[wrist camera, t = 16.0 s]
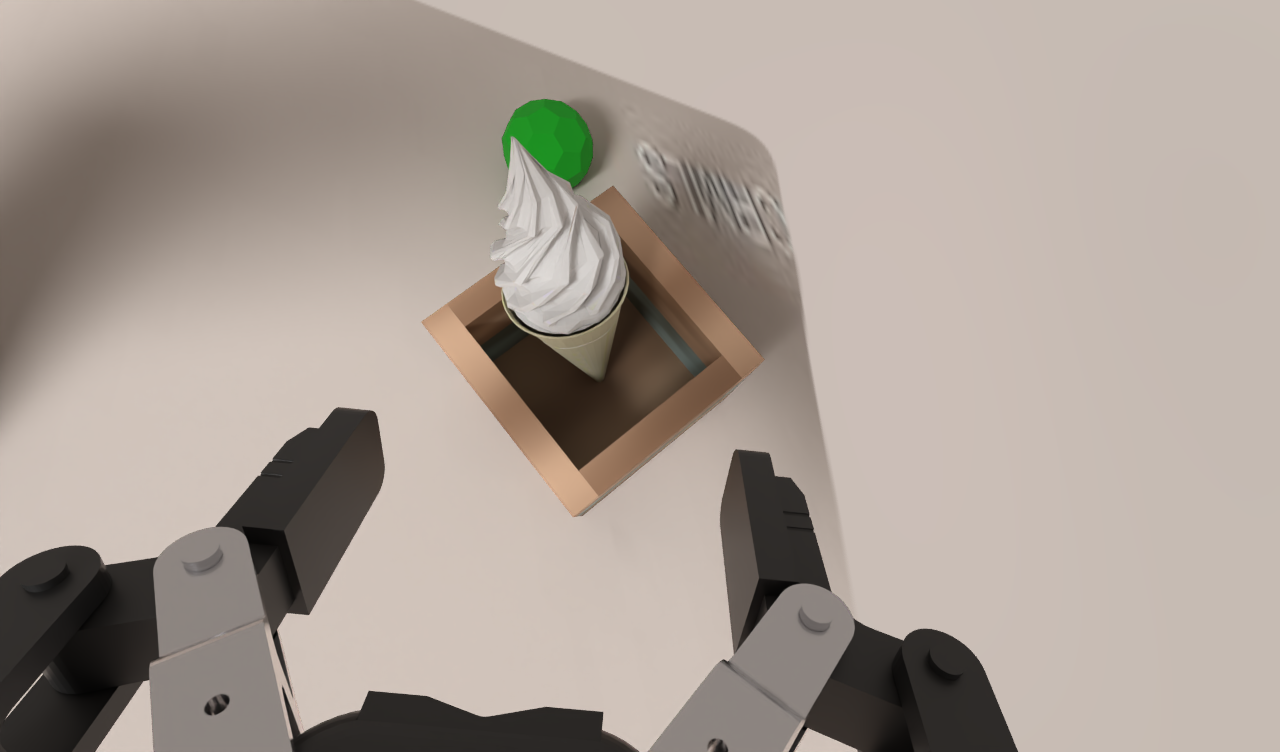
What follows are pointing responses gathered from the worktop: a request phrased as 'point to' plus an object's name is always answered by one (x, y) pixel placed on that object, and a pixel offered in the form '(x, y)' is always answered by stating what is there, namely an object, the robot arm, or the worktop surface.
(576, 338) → the ice cream cone
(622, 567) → the worktop surface
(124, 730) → the worktop surface
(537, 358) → the square wooden crate
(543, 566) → the worktop surface
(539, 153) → the polyhedron
